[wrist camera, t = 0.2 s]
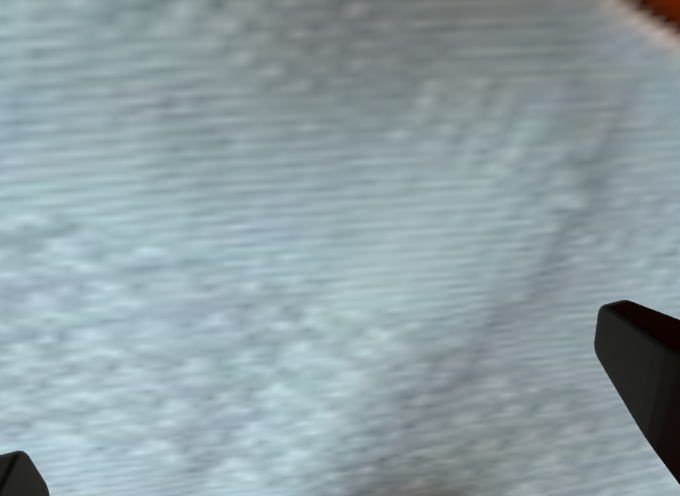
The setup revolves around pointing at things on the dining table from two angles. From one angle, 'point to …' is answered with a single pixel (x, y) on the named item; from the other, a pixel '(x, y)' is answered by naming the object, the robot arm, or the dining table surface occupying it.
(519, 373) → the dining table surface
